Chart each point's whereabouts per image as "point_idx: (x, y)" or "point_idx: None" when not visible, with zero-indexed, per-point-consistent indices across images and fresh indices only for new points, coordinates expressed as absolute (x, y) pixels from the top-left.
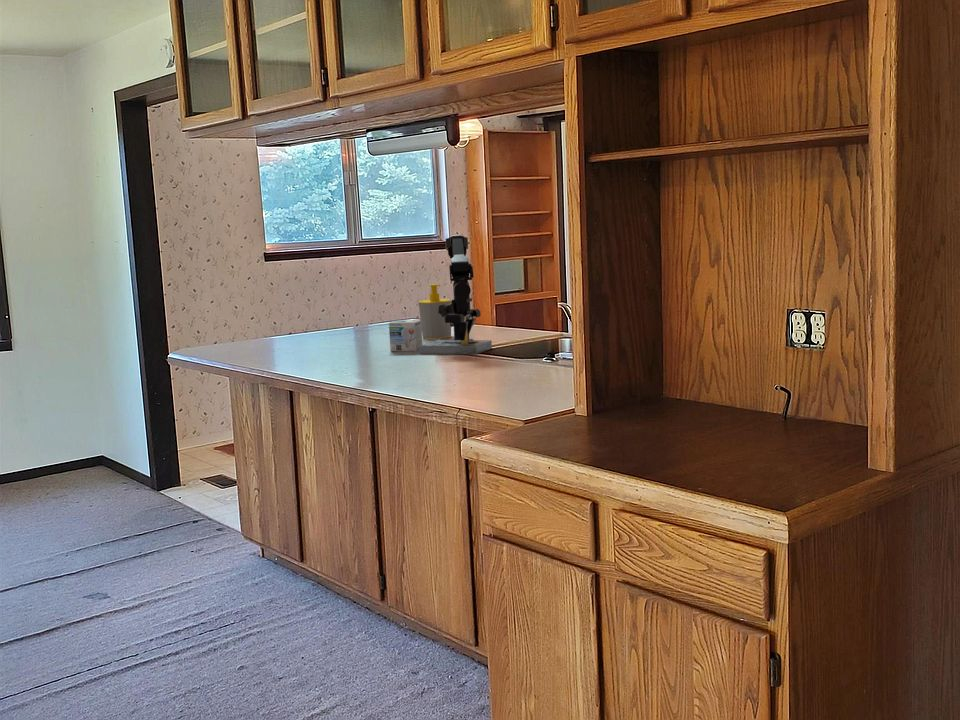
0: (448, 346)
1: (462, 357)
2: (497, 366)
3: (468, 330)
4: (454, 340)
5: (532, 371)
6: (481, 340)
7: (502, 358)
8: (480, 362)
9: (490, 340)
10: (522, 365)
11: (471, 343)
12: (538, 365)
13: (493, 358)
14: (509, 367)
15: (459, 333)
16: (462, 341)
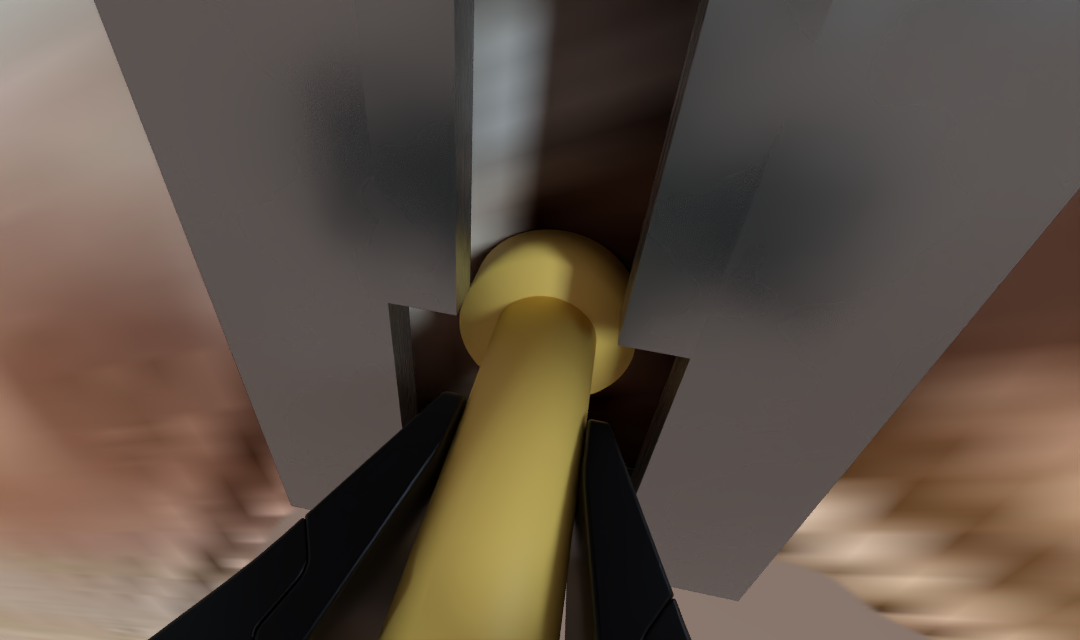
0: (178, 189)
1: (144, 346)
2: (16, 536)
3: (569, 637)
4: (1028, 102)
5: (29, 607)
6: (747, 535)
7: (238, 554)
8: (48, 474)
9: (709, 594)
10: (110, 597)
11: (654, 426)
12: (145, 628)
13: (216, 522)
14: (35, 566)
15: (343, 494)
16: (474, 385)
